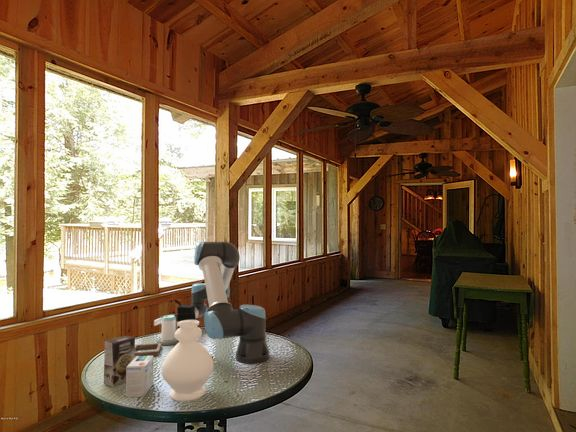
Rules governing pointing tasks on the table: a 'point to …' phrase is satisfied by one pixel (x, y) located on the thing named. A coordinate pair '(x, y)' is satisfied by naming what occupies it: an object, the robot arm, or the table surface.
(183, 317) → the portable radio
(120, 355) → the coffee box
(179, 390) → the decorative vase
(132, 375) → the light bulb box
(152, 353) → the frame
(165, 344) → the dock pad
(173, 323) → the can
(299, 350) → the table surface
